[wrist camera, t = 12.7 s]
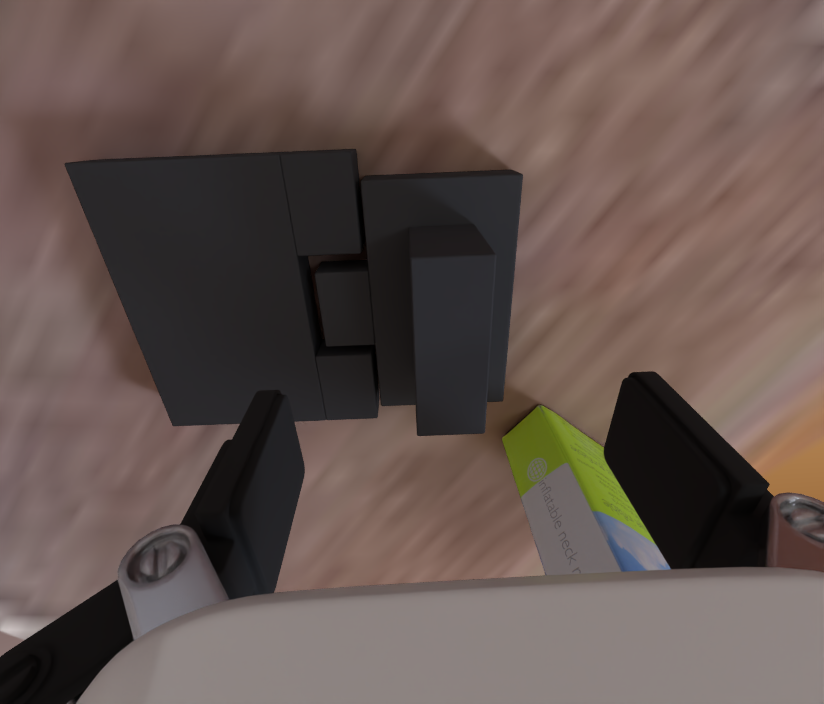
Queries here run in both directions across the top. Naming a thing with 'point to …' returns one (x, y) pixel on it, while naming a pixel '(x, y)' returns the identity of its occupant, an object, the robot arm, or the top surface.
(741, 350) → the top surface
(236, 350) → the base pad
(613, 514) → the box
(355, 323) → the pad
